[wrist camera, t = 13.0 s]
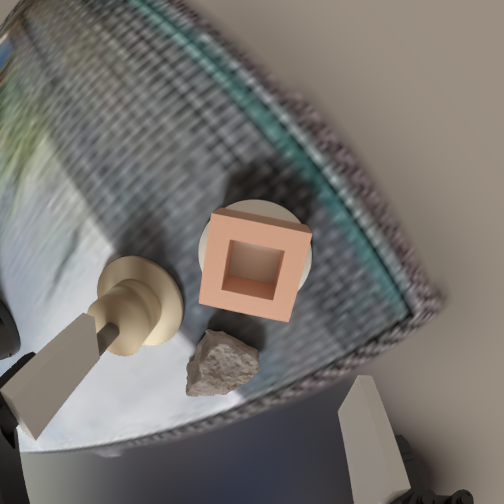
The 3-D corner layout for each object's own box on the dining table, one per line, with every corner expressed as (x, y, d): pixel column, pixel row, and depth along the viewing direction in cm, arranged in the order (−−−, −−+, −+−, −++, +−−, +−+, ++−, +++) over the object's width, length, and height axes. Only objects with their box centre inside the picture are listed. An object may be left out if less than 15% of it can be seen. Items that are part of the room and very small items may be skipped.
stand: (104, 325, 35) (52, 379, 22) (101, 246, 31) (30, 285, 19) (181, 350, 35) (145, 421, 22) (188, 267, 31) (138, 327, 19)
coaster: (194, 293, 32) (192, 295, 31) (208, 189, 28) (207, 190, 28) (295, 315, 32) (296, 317, 31) (323, 213, 28) (324, 214, 27)
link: (208, 287, 31) (198, 303, 27) (220, 207, 28) (211, 213, 24) (287, 303, 31) (288, 322, 27) (307, 225, 28) (312, 233, 24)
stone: (271, 350, 33) (269, 382, 28) (224, 388, 36) (217, 418, 31) (219, 313, 32) (208, 341, 27) (177, 356, 35) (163, 385, 30)
